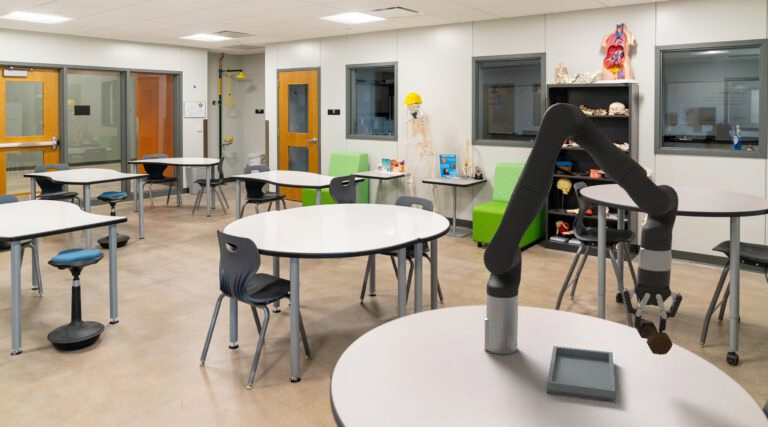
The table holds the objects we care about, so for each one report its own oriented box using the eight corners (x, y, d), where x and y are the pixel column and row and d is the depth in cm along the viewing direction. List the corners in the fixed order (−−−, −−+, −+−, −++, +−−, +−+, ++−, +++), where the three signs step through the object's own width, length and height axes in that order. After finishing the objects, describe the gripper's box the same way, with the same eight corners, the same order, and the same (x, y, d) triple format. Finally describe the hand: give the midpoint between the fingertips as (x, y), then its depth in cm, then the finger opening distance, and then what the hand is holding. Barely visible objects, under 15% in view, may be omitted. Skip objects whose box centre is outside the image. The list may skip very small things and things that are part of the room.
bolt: (643, 337, 159) (663, 359, 144) (626, 327, 159) (644, 349, 144) (655, 319, 158) (677, 340, 143) (639, 309, 158) (658, 329, 143)
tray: (546, 393, 151) (547, 382, 150) (553, 355, 173) (553, 345, 173) (614, 402, 146) (615, 391, 145) (612, 362, 168) (612, 352, 167)
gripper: (624, 267, 147) (619, 332, 151) (688, 271, 143) (682, 339, 146) (622, 259, 154) (618, 322, 157) (684, 263, 150) (678, 328, 153)
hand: (649, 330), depth 152 cm, fingers closed on bolt, 4 cm apart
